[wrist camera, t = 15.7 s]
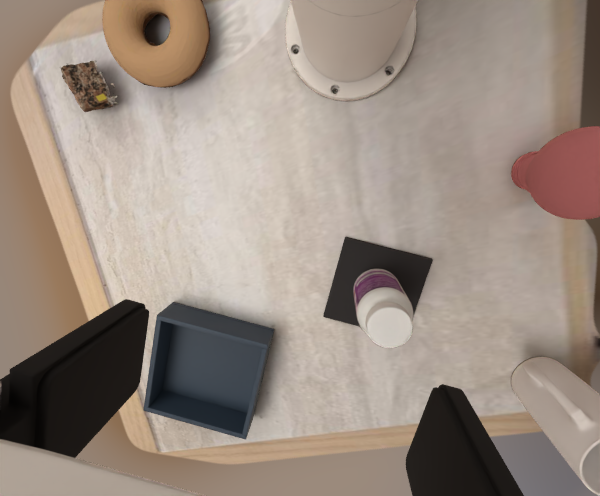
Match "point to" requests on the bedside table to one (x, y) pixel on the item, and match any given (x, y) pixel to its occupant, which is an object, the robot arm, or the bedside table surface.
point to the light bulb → (564, 174)
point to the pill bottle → (383, 308)
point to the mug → (563, 413)
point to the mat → (364, 258)
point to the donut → (147, 56)
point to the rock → (88, 86)
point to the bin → (206, 369)
